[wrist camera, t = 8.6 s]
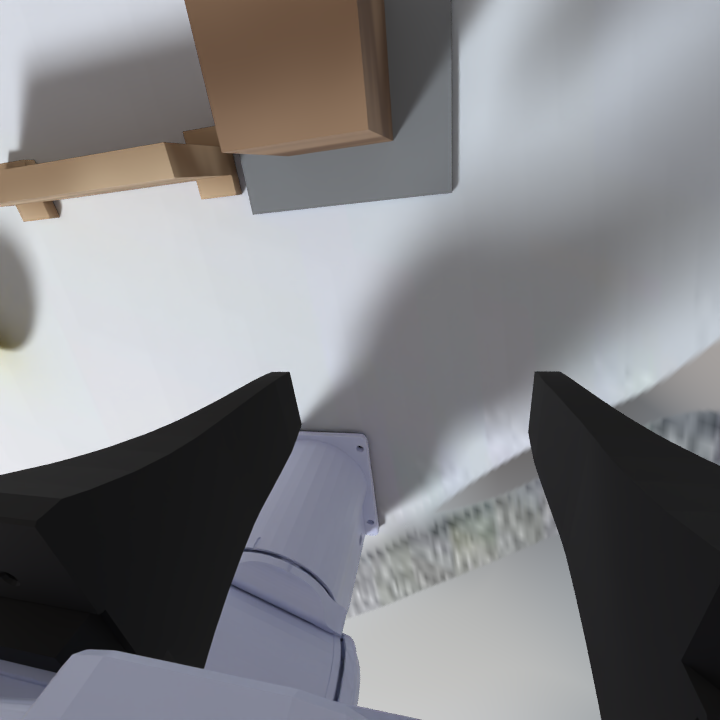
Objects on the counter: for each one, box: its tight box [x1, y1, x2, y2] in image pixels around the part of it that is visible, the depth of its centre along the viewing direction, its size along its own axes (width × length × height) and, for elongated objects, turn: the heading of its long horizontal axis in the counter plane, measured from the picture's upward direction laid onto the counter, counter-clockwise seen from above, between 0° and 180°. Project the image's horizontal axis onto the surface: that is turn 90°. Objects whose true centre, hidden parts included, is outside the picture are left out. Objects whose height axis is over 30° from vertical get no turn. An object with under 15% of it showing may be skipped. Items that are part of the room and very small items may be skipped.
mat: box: [239, 0, 452, 214], centre depth 16 cm, size 10×10×1 cm
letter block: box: [184, 0, 393, 156], centre depth 13 cm, size 5×5×6 cm
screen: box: [0, 126, 242, 222], centre depth 18 cm, size 3×14×5 cm, turn 98°
